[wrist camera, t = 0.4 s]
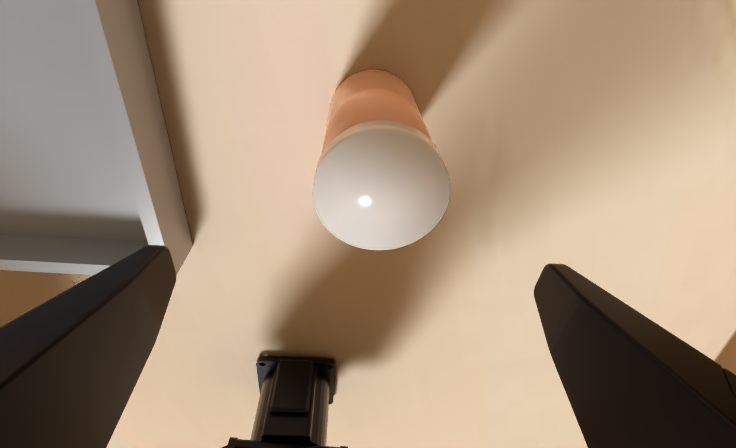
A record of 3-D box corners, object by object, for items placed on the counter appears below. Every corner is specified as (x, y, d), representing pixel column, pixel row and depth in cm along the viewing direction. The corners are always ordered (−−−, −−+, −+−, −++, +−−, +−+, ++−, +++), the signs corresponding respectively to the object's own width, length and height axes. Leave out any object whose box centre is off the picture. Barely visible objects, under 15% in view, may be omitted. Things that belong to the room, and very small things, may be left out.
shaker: (409, 159, 20) (434, 254, 14) (325, 152, 20) (311, 246, 13) (425, 72, 18) (465, 139, 11) (329, 62, 17) (313, 125, 11)
